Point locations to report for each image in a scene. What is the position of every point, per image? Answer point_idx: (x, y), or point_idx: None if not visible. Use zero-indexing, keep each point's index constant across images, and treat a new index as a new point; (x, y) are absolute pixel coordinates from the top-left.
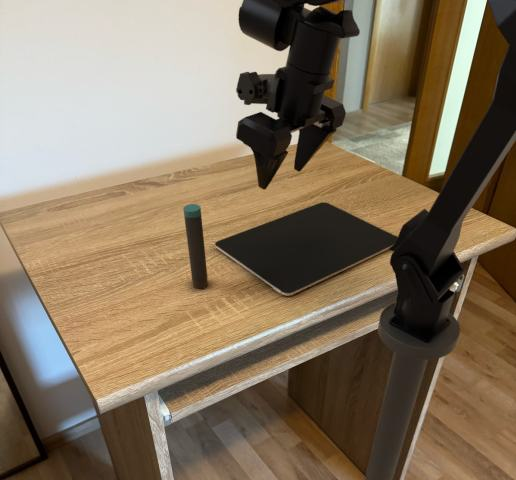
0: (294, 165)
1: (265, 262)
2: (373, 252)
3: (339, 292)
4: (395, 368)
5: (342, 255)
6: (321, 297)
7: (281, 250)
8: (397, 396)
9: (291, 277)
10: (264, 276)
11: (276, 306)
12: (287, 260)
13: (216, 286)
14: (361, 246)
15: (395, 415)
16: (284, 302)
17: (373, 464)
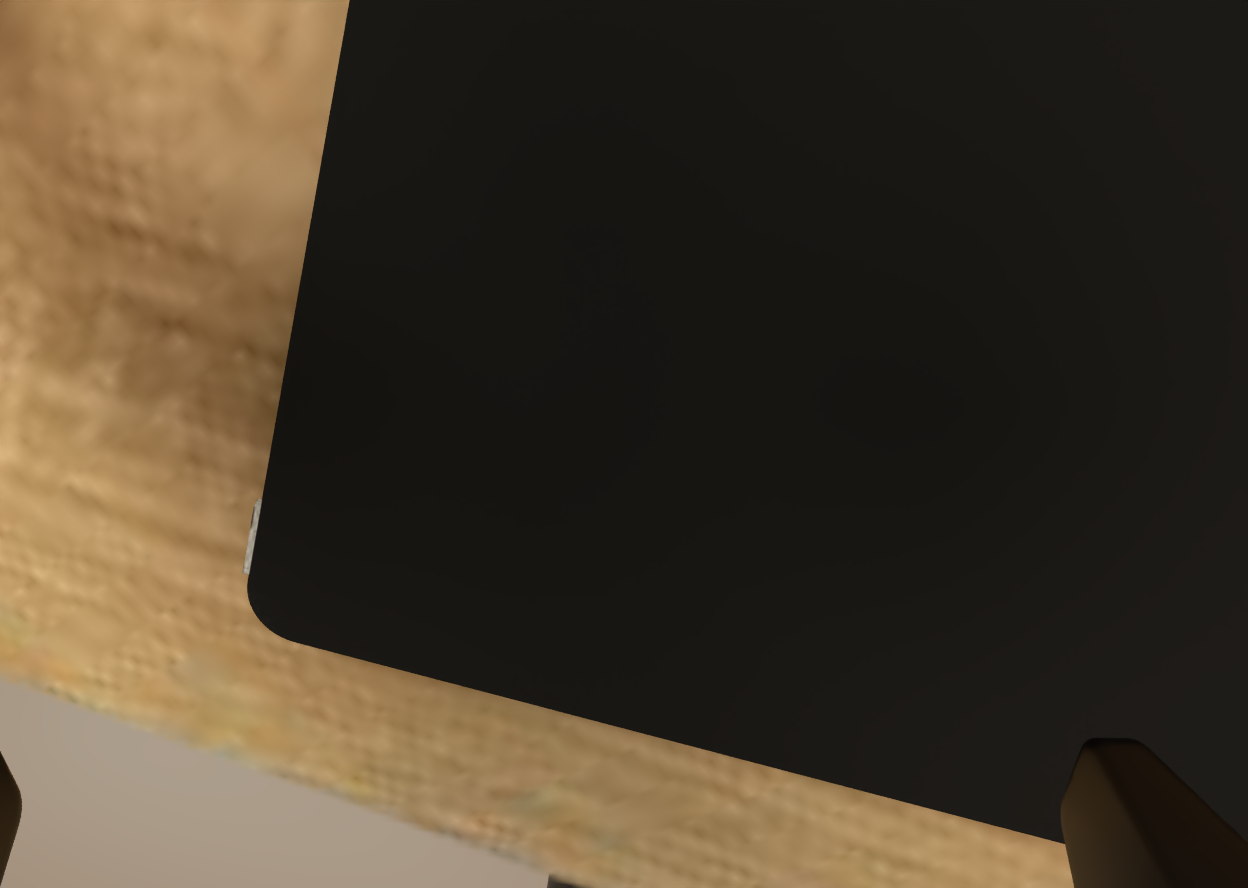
0: (1112, 785)
1: (478, 274)
2: None
3: (535, 811)
4: (553, 885)
5: (920, 690)
6: (420, 754)
7: (723, 277)
8: None
9: (430, 550)
10: (308, 387)
11: (155, 591)
12: (615, 404)
13: (10, 103)
14: None
15: None
16: (223, 609)
17: None
